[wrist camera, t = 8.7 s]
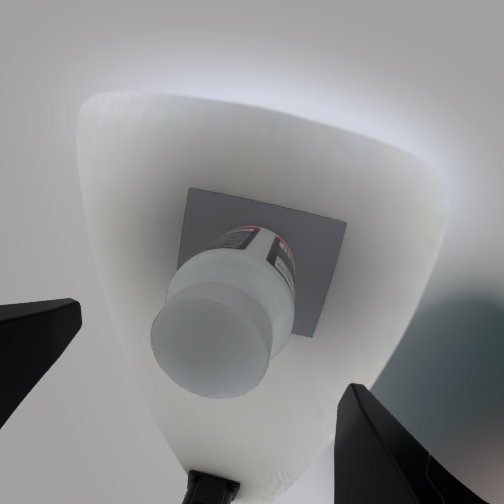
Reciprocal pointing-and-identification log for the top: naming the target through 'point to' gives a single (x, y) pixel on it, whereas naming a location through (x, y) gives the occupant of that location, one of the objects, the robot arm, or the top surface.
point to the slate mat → (284, 225)
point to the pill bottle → (227, 313)
